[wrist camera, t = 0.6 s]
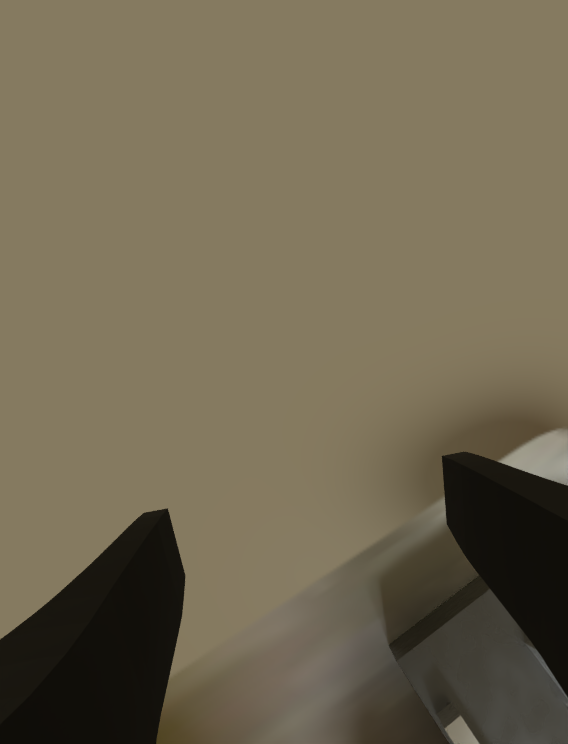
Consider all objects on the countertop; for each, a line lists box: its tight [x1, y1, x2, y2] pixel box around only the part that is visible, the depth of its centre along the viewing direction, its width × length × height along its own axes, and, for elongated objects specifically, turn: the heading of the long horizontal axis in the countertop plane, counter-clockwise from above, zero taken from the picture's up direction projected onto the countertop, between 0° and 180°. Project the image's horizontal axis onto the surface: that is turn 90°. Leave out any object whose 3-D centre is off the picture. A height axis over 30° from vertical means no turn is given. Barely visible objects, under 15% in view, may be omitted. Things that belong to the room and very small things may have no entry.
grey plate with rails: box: [389, 576, 568, 744], centre depth 26 cm, size 14×9×6 cm, turn 34°
